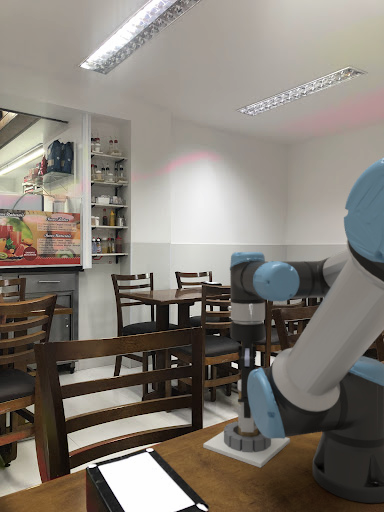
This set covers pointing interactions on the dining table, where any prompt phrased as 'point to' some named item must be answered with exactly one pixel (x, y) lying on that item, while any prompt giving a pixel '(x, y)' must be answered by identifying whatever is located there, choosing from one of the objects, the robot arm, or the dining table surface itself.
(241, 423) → the robot arm
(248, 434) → the sprinkles bottle
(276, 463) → the dining table surface
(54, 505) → the dining table surface
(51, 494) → the dining table surface
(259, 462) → the socket board
